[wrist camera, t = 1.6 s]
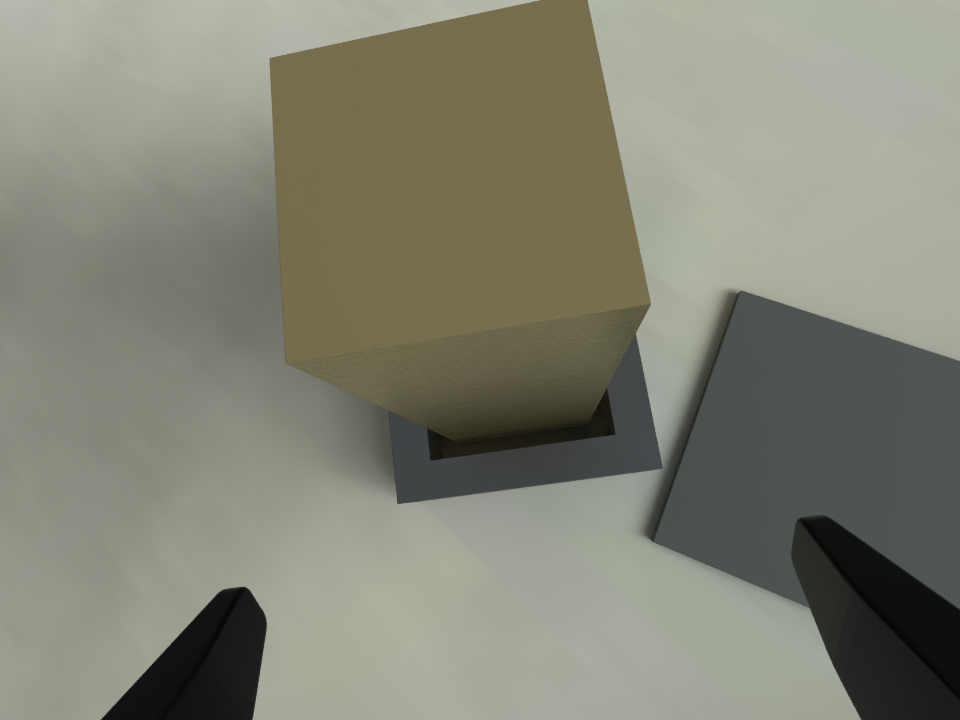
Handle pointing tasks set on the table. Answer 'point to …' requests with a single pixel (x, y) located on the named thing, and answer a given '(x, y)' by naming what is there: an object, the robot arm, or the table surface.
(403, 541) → the table surface
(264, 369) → the table surface
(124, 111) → the table surface
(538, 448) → the grey tray
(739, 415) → the rubber pad
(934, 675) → the robot arm
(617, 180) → the tan rectangular block
